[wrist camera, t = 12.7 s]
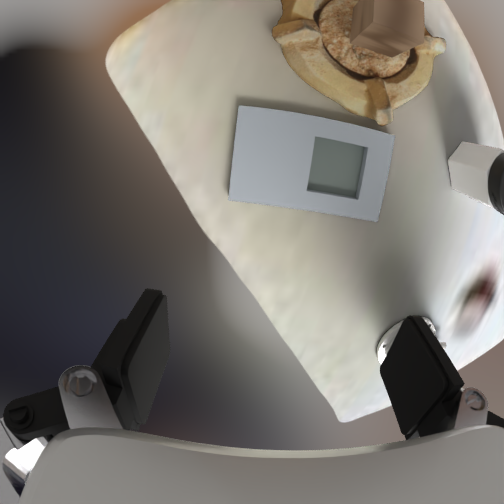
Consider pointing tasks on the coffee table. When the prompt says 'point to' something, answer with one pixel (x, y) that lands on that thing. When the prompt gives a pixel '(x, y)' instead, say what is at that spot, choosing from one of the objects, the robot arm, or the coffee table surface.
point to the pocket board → (309, 163)
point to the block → (388, 25)
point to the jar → (479, 173)
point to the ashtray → (351, 59)
